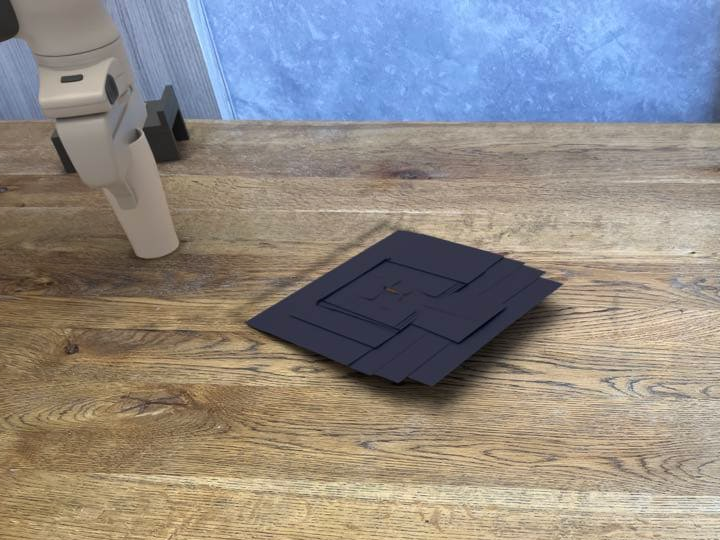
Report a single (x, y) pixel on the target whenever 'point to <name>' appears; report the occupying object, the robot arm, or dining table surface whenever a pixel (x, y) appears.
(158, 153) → the dark box with label
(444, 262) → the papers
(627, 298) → the dining table surface
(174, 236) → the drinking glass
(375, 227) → the dining table surface
